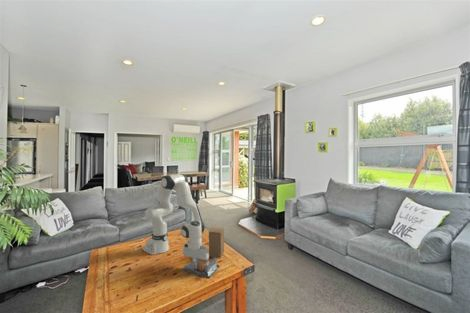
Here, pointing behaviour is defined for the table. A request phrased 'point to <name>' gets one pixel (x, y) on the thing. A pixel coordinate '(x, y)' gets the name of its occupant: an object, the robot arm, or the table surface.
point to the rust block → (202, 264)
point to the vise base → (202, 273)
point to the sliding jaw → (196, 264)
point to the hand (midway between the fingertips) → (195, 263)
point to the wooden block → (216, 242)
